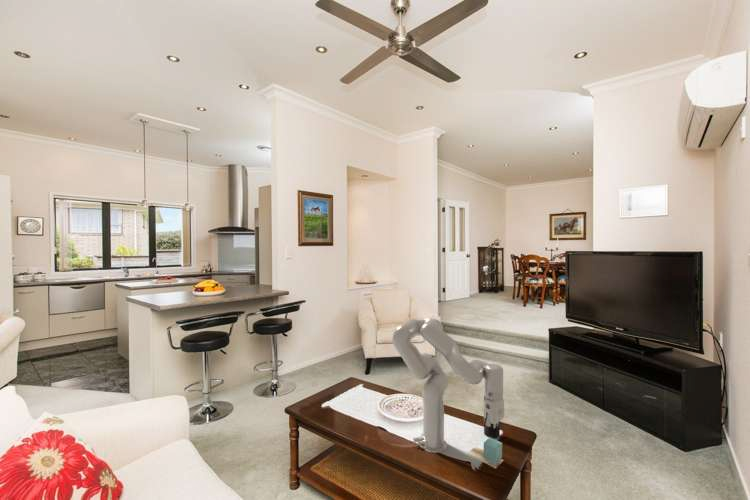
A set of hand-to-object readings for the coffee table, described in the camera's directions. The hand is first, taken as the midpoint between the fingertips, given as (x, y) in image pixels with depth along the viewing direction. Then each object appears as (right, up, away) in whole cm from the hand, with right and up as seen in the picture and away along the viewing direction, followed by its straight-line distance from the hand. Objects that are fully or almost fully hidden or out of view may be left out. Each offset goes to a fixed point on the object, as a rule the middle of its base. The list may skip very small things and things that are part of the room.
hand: (493, 435), depth 147 cm
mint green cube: (0, -10, 0) cm, 10 cm away
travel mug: (+6, -12, +20) cm, 24 cm away
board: (-3, -12, +3) cm, 13 cm away
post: (0, -11, 0) cm, 11 cm away
